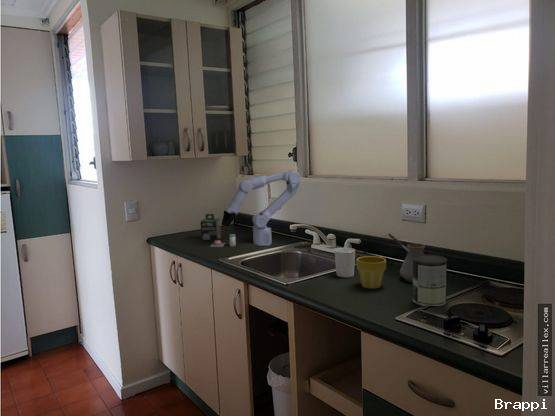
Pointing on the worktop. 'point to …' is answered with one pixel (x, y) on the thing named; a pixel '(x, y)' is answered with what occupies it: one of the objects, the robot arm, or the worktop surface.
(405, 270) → the coffee pot
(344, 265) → the white cup
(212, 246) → the button housing
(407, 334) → the worktop surface
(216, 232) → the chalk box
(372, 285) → the plant pot
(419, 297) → the coffee can
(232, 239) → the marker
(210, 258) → the worktop surface
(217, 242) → the button
